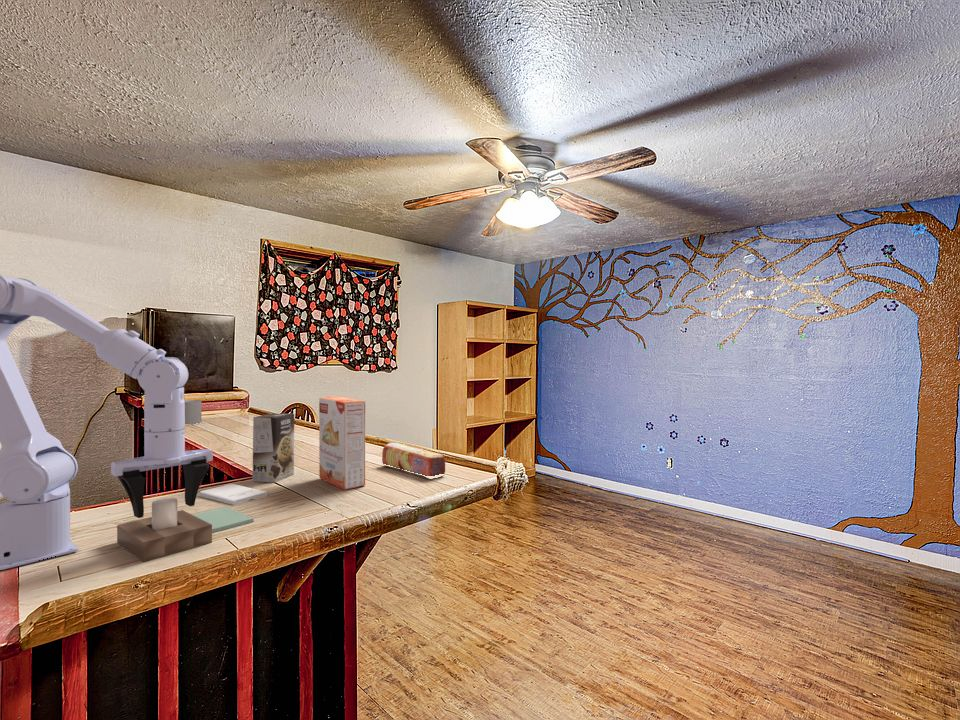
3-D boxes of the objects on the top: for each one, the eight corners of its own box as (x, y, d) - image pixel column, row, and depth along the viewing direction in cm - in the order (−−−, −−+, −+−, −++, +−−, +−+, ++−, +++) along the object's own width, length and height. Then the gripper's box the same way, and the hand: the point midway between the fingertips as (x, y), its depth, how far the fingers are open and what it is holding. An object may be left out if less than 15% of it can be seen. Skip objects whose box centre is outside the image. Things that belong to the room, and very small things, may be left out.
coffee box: (275, 483, 120) (275, 417, 120) (251, 481, 121) (251, 416, 121) (295, 474, 129) (295, 413, 129) (272, 472, 130) (273, 412, 130)
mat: (203, 535, 86) (203, 531, 86) (177, 521, 92) (177, 518, 92) (253, 521, 93) (253, 518, 93) (226, 509, 100) (226, 506, 100)
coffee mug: (193, 421, 222) (193, 399, 222) (206, 423, 217) (206, 400, 217) (162, 424, 211) (162, 401, 211) (174, 427, 206) (174, 403, 205)
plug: (156, 548, 80) (156, 505, 80) (148, 543, 82) (148, 501, 82) (180, 542, 83) (180, 500, 82) (172, 537, 85) (172, 496, 85)
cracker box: (317, 479, 124) (318, 396, 124) (339, 475, 128) (340, 395, 128) (342, 491, 114) (343, 401, 113) (366, 486, 118) (366, 399, 117)
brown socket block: (143, 561, 75) (143, 542, 75) (117, 542, 82) (117, 524, 82) (211, 542, 83) (212, 524, 82) (182, 526, 90) (182, 510, 90)
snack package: (447, 477, 128) (448, 451, 128) (428, 481, 124) (428, 455, 124) (399, 463, 143) (399, 440, 143) (380, 467, 138) (380, 443, 138)
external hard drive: (233, 490, 116) (267, 498, 110) (199, 498, 109) (233, 507, 103) (233, 483, 116) (267, 490, 110) (199, 491, 109) (233, 500, 103)
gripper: (121, 438, 74) (121, 527, 74) (220, 427, 85) (220, 504, 85) (106, 433, 78) (106, 517, 78) (202, 423, 90) (203, 497, 90)
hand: (165, 510), depth 82 cm, fingers open, 7 cm apart
